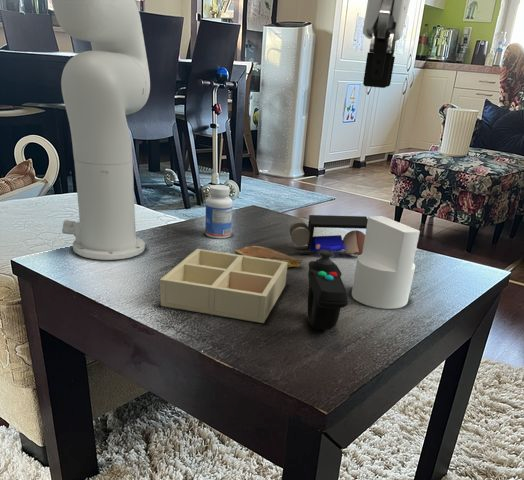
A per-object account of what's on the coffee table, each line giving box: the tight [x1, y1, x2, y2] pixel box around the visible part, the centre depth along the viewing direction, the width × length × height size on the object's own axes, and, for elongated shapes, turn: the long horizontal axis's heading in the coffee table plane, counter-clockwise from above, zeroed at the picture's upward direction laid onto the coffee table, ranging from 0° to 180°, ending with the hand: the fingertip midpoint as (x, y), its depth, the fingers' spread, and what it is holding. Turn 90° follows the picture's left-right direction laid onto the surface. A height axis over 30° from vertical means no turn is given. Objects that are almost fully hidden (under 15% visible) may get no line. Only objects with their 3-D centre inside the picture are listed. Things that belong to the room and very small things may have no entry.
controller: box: [307, 250, 349, 331], centre depth 72 cm, size 4×12×10 cm, turn 2°
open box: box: [159, 248, 288, 324], centre depth 81 cm, size 15×15×4 cm
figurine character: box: [289, 214, 368, 257], centre depth 103 cm, size 7×8×15 cm
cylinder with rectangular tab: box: [351, 215, 421, 310], centre depth 83 cm, size 9×9×12 cm
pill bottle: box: [204, 184, 234, 239], centre depth 108 cm, size 6×5×10 cm
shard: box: [234, 245, 303, 268], centre depth 96 cm, size 11×8×2 cm
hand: (377, 86), depth 77 cm, fingers open, 9 cm apart
